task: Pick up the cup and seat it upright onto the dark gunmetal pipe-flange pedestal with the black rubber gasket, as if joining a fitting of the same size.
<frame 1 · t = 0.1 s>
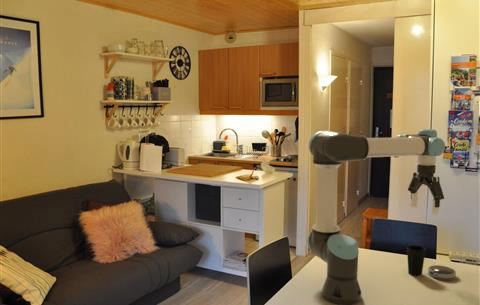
hand: (424, 210, 193), 28 cm above the table, fingers open, 13 cm apart
flange: (441, 275, 189), on the table
cup: (415, 274, 191), on the table
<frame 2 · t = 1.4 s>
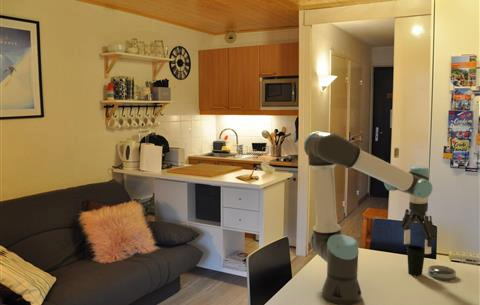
hand: (417, 248, 190), 12 cm above the table, fingers open, 13 cm apart
nothing on the table moved.
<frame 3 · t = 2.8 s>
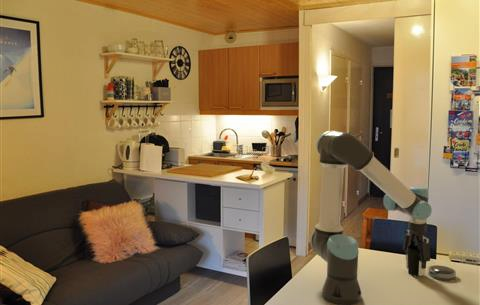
hand: (415, 271, 191), 1 cm above the table, fingers closed on cup, 8 cm apart
cup: (415, 274, 191), on the table, touching gripper
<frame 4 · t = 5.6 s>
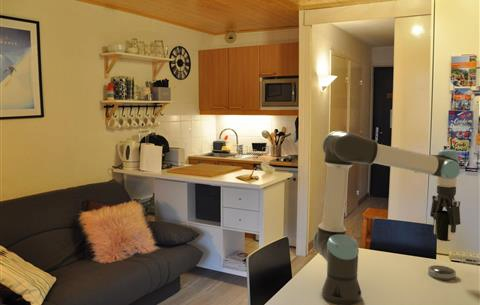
hand: (443, 236, 187), 18 cm above the table, fingers closed on cup, 8 cm apart
cup: (443, 239, 188), point 16 cm above the table, touching gripper
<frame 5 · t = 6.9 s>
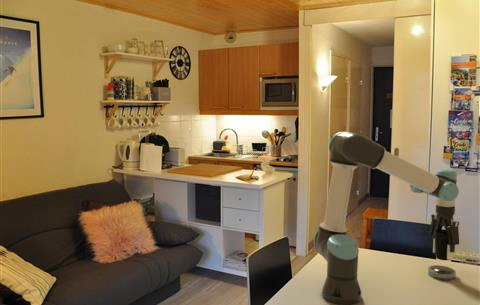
hand: (442, 255, 188), 9 cm above the table, fingers closed on cup, 8 cm apart
cup: (442, 258, 189), point 8 cm above the table, touching gripper
when the fingers open (5 cm above the table, at t = 8.2 s): cup stays where it is, resting on flange.
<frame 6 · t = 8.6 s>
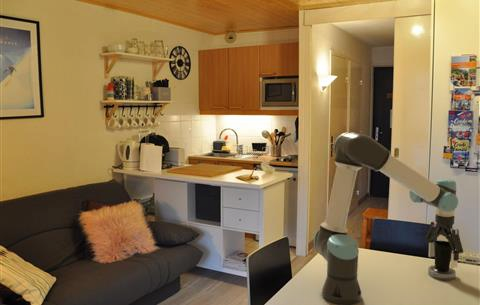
hand: (442, 261, 189), 6 cm above the table, fingers open, 13 cm apart
cup: (441, 269, 189), point 3 cm above the table, touching flange
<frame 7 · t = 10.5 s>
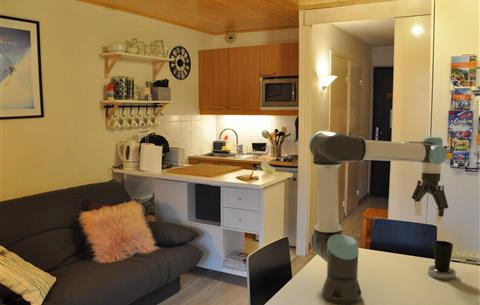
hand: (427, 219, 189), 25 cm above the table, fingers open, 13 cm apart
nothing on the table moved.
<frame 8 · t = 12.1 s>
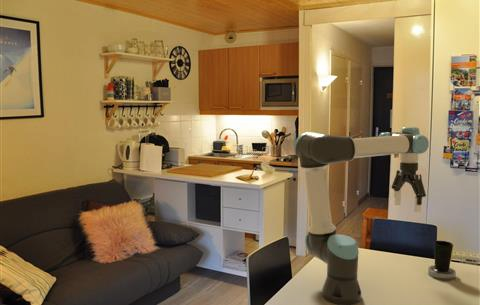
hand: (407, 208, 193), 29 cm above the table, fingers open, 13 cm apart
nothing on the table moved.
at the end: cup 0.0 cm from the flange (horizontally); cup point 2.5 cm above the table; cup tilted 0° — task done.
